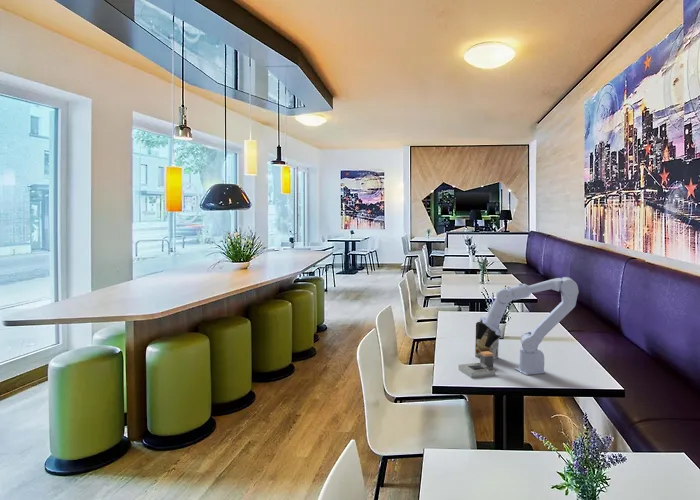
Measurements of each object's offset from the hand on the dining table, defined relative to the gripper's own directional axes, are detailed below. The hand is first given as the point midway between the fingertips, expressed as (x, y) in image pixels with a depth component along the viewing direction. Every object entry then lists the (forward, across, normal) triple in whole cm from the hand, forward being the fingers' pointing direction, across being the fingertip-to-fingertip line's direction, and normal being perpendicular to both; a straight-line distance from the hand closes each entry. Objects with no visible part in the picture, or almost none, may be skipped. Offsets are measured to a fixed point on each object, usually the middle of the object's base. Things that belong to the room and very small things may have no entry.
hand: (482, 342), depth 208 cm
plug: (+10, +1, +7) cm, 12 cm away
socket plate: (+11, +7, -2) cm, 13 cm away
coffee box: (+10, -11, +14) cm, 20 cm away
